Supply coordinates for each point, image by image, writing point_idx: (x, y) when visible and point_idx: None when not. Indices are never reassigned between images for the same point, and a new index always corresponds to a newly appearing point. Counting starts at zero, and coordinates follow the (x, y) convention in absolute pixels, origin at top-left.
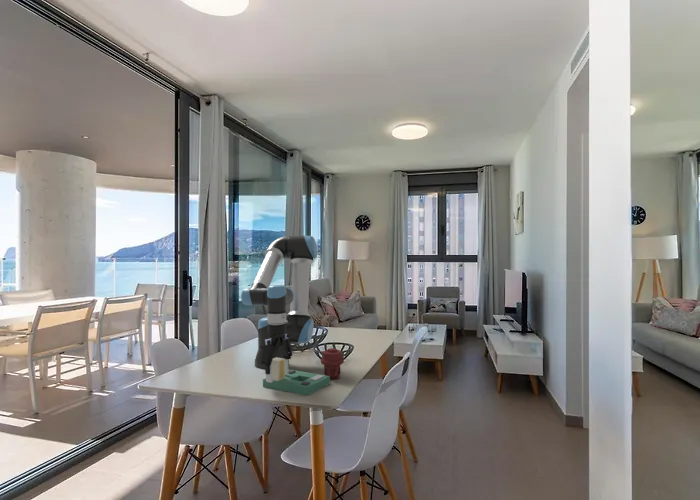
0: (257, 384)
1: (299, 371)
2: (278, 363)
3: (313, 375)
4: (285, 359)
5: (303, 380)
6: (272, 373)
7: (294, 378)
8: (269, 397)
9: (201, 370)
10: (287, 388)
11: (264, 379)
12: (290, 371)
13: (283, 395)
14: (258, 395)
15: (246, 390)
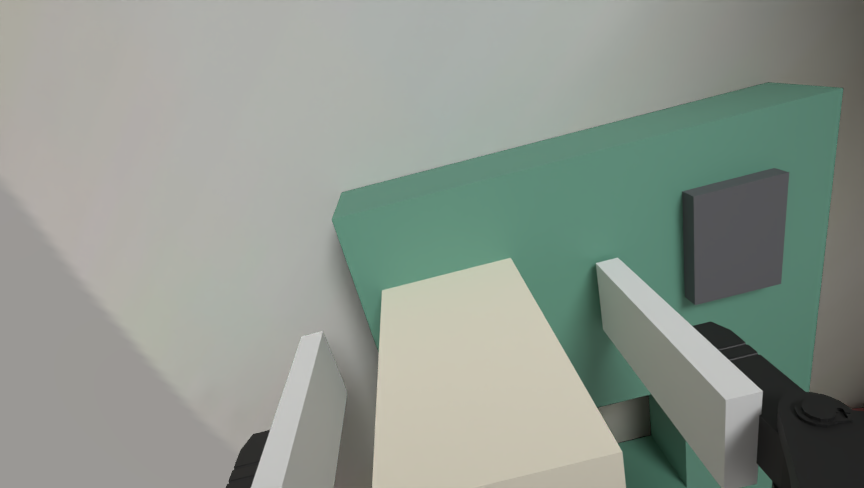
0: (338, 75)
1: (808, 287)
2: None
3: None
4: (736, 452)
5: None
6: (335, 472)
7: (602, 397)
8: (241, 447)
9: None
10: None
11: (341, 243)
12: (727, 264)
13: (350, 476)
14: (186, 361)
15: (139, 164)
